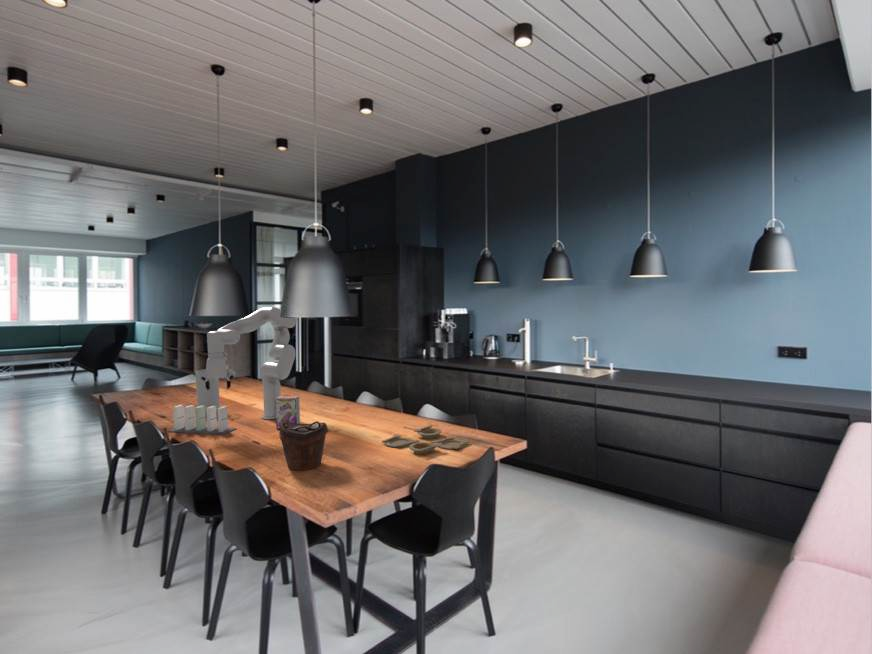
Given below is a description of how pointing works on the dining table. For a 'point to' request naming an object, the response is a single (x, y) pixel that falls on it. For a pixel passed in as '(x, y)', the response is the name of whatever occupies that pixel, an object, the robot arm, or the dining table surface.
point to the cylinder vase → (207, 391)
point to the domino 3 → (200, 418)
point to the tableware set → (425, 446)
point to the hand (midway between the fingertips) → (218, 388)
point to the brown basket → (303, 444)
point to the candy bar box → (287, 410)
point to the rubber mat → (203, 431)
